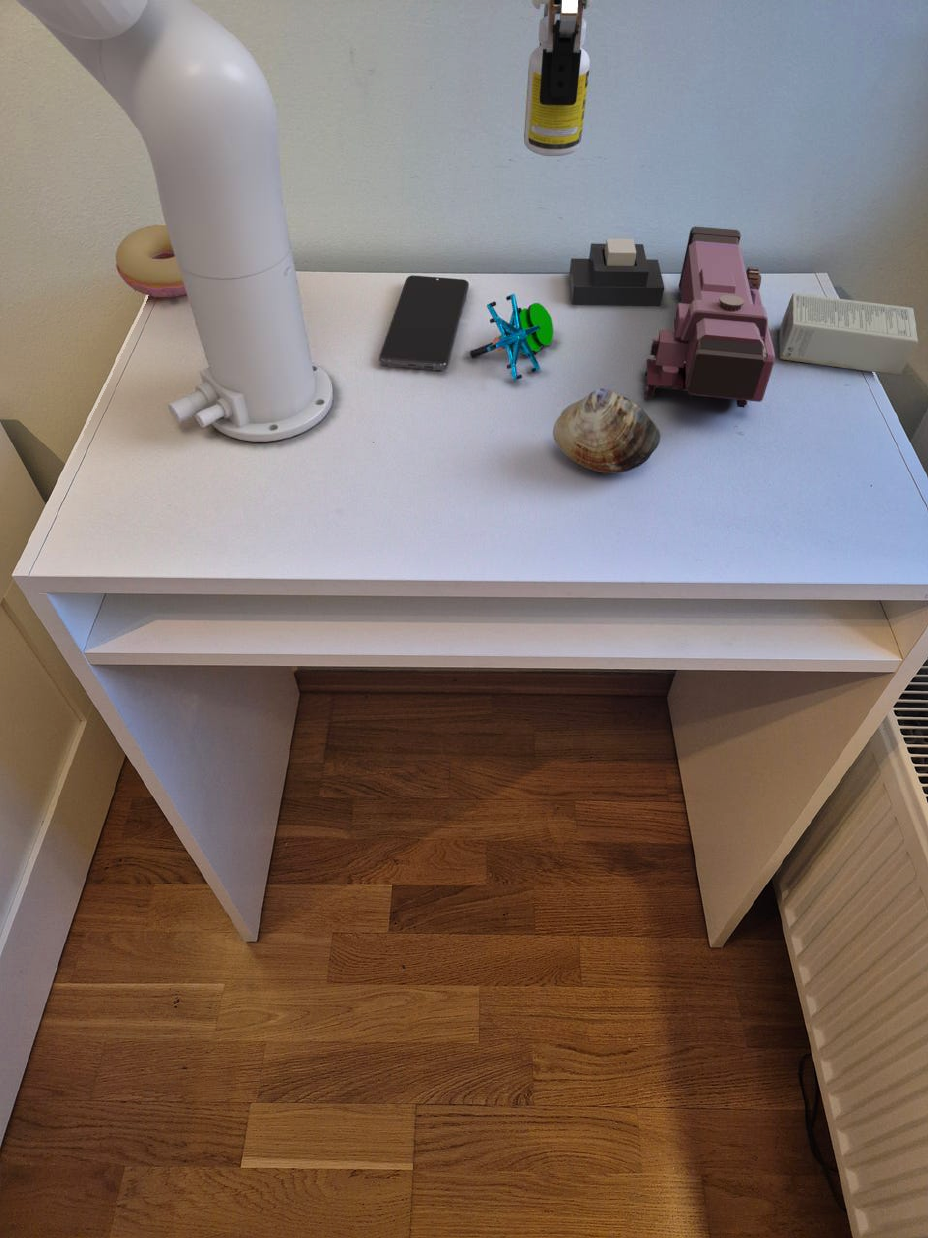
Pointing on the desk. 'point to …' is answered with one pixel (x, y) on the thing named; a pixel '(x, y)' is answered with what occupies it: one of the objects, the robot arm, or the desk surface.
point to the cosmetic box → (847, 334)
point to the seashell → (606, 433)
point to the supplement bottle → (554, 106)
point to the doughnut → (150, 263)
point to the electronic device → (715, 325)
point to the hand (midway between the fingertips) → (556, 87)
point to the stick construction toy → (520, 334)
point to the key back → (620, 252)
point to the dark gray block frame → (615, 280)
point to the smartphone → (425, 323)
